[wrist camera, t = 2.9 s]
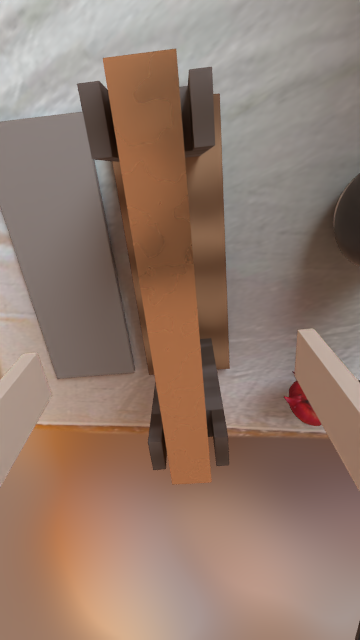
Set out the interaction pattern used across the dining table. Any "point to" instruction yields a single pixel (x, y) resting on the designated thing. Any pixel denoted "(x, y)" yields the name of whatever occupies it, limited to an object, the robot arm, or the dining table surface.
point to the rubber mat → (64, 243)
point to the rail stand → (205, 231)
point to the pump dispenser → (349, 221)
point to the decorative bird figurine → (301, 405)
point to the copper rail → (163, 246)
